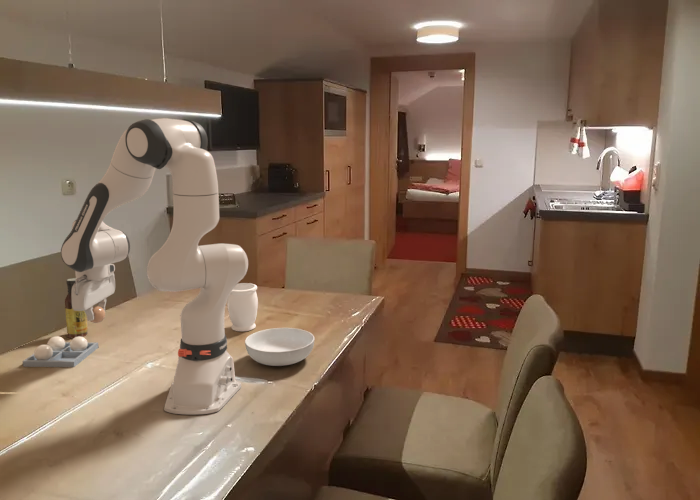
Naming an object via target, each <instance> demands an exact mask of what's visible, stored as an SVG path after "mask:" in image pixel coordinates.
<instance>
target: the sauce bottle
mask: <svg viewBox="0 0 700 500" xmlns="http://www.w3.org/2000/svg"><path fill="white" fill-rule="evenodd" d="M75 281H76V277H73V278H67V279H66V281H65V282H66V285H67V294H66V297H65V299H64V305H65V306H64V311H65V321H66V333H67V337H68V338H69V339H73V338H75V337H78V336H81V337H84V338H85V337H86V336H88V331H89V329H88V320H87V315H86V313H85V312H84V311H74V310H73V308H72V296H71V292H72V286H73V285H74V284H75Z"/></svg>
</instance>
